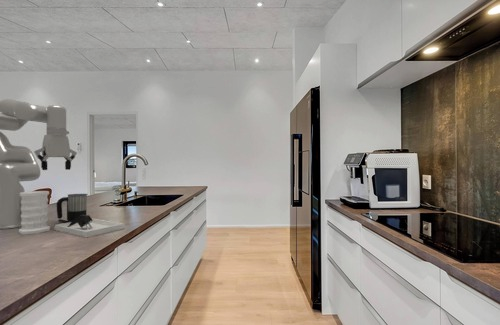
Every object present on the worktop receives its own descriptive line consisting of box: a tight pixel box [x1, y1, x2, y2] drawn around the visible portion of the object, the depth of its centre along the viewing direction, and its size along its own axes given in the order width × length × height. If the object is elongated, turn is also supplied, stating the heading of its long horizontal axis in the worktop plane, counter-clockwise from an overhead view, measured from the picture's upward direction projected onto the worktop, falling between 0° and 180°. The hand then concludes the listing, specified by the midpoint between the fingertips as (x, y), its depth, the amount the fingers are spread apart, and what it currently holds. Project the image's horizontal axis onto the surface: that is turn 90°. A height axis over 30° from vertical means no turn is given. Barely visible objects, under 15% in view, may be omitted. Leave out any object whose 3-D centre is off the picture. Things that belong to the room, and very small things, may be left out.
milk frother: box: [56, 193, 88, 224], centre depth 146 cm, size 14×16×15 cm
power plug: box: [67, 214, 93, 229], centre depth 131 cm, size 6×8×12 cm
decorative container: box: [18, 190, 51, 235], centre depth 129 cm, size 12×12×18 cm
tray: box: [54, 217, 126, 239], centre depth 131 cm, size 26×18×2 cm
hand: (56, 169), depth 129 cm, fingers open, 9 cm apart
